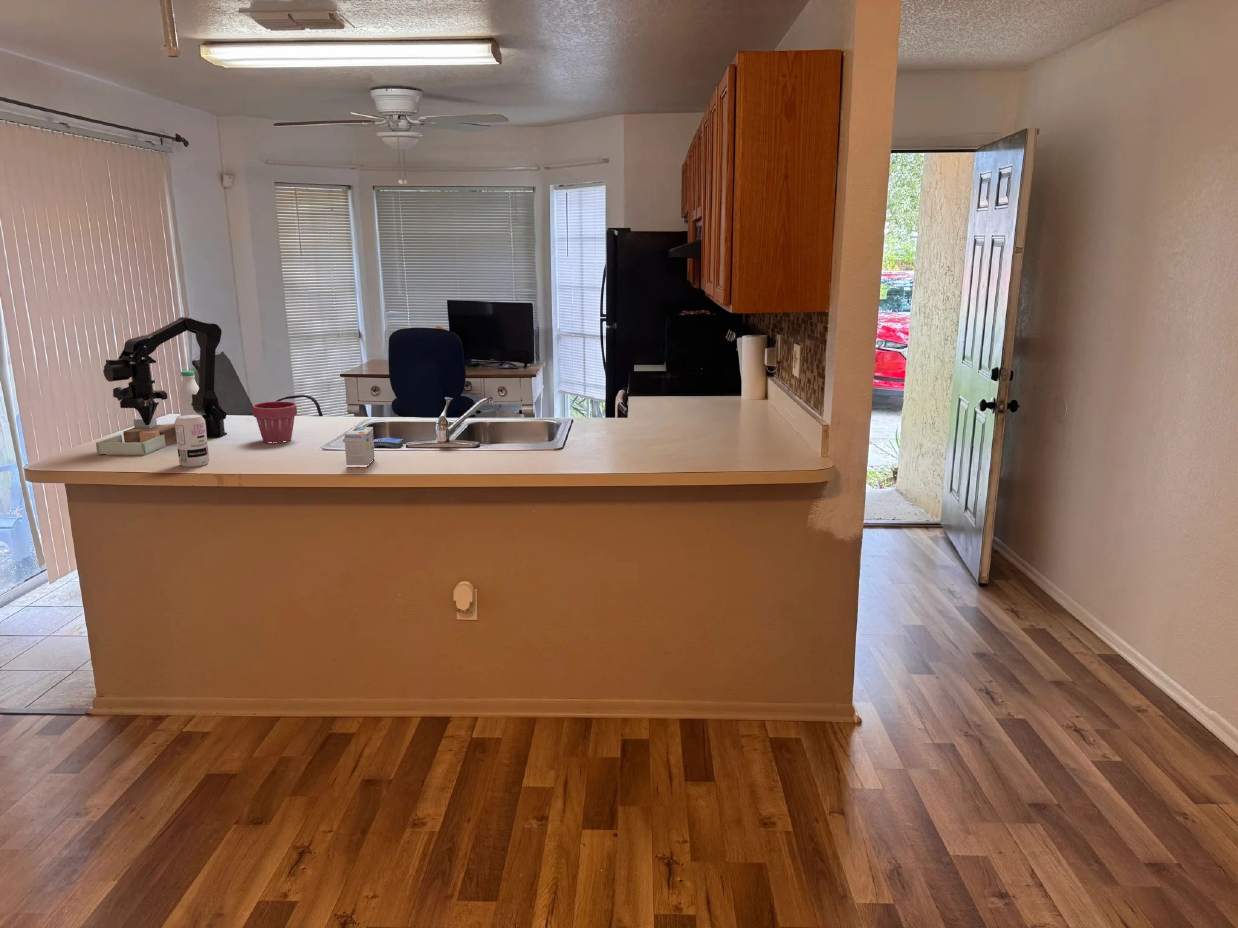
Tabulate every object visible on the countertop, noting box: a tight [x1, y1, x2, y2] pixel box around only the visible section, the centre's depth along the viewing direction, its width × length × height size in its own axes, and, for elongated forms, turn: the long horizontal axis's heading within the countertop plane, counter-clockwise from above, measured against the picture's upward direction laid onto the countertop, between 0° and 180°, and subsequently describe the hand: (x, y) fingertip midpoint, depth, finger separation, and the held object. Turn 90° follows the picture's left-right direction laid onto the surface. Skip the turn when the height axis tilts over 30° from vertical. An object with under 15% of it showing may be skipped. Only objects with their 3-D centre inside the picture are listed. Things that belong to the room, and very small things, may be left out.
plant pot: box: [252, 400, 298, 444], centre depth 291 cm, size 14×14×13 cm
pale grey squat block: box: [133, 416, 158, 428], centre depth 288 cm, size 5×5×3 cm
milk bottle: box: [178, 370, 199, 416], centre depth 318 cm, size 8×8×20 cm
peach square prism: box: [139, 431, 160, 443], centre depth 279 cm, size 5×5×3 cm
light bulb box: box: [344, 426, 375, 466], centre depth 261 cm, size 11×7×11 cm, turn 4°
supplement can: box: [174, 414, 210, 468], centre depth 257 cm, size 8×8×15 cm
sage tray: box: [95, 434, 167, 457], centre depth 275 cm, size 15×13×4 cm
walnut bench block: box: [122, 424, 177, 447], centre depth 287 cm, size 13×12×5 cm
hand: (147, 424), depth 278 cm, fingers closed
